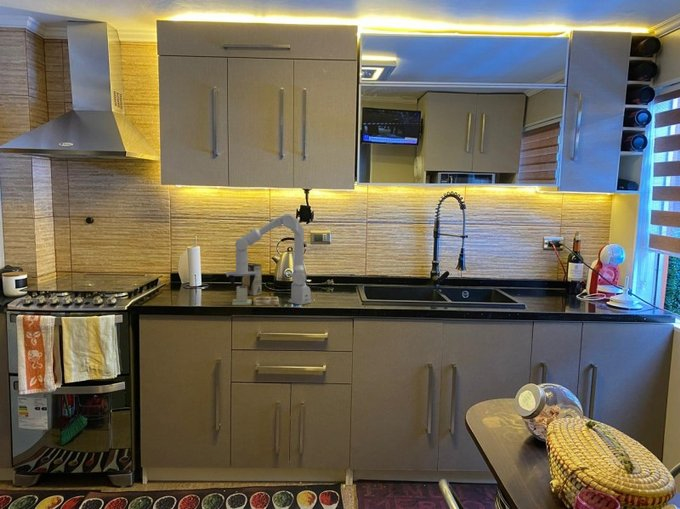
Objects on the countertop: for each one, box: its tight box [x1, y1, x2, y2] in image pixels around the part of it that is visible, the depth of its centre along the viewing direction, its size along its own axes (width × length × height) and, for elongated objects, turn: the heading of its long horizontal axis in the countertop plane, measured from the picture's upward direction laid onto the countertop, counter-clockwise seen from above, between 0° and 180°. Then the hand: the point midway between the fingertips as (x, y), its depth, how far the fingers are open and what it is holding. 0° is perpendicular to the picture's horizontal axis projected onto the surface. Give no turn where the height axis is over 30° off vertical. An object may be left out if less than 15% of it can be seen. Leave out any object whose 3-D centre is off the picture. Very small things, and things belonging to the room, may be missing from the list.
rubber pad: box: [231, 298, 252, 306], centre depth 229 cm, size 9×9×1 cm
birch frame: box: [253, 296, 280, 306], centre depth 230 cm, size 12×10×2 cm
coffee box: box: [241, 262, 263, 296], centre depth 252 cm, size 9×6×16 cm
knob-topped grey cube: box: [236, 285, 248, 303], centre depth 229 cm, size 5×5×7 cm
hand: (242, 290), depth 229 cm, fingers open, 7 cm apart
